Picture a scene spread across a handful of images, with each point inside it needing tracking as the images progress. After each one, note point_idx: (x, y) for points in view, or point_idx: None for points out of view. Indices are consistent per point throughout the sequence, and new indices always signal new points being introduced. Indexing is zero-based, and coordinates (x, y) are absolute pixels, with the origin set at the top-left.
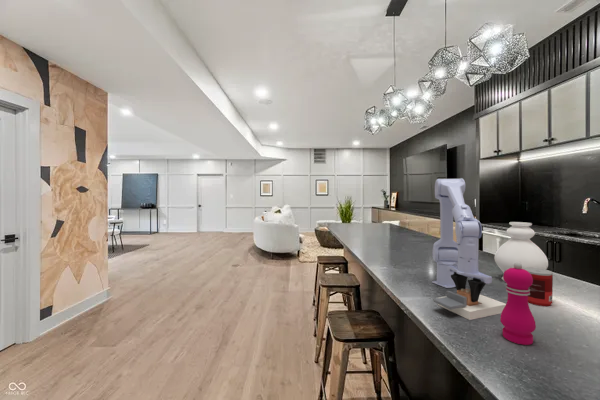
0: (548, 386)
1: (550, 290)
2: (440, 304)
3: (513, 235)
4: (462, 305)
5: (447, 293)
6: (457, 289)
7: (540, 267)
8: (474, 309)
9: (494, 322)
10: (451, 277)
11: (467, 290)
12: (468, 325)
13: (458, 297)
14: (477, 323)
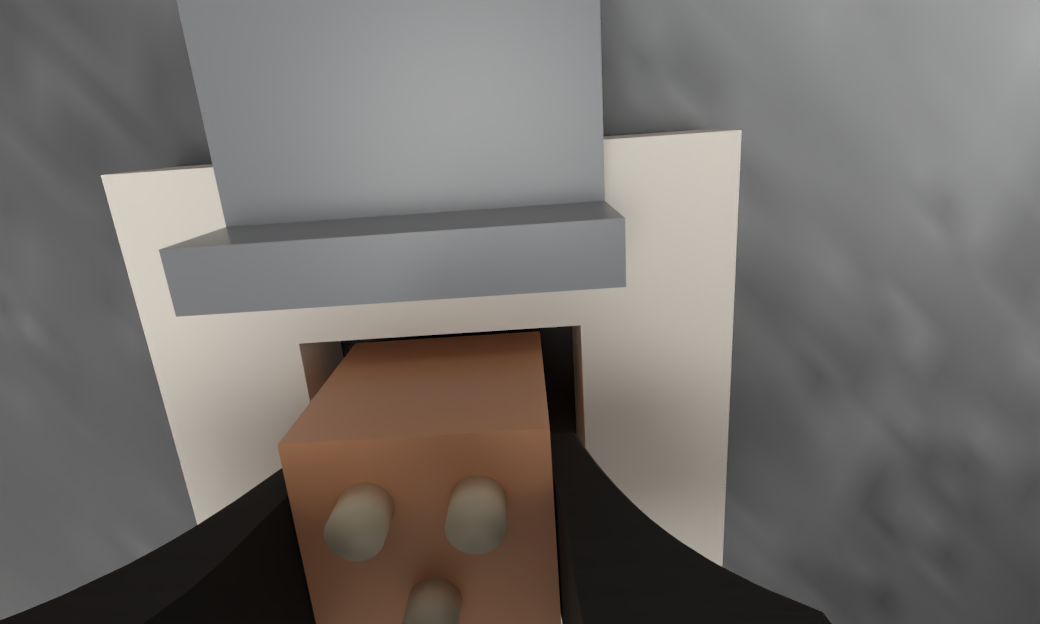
0: None
1: None
2: None
3: None
4: (226, 185)
5: (590, 210)
6: (590, 479)
7: None
8: (172, 313)
9: (92, 391)
10: (791, 606)
11: (368, 543)
12: (34, 16)
13: (316, 233)
14: (81, 183)
